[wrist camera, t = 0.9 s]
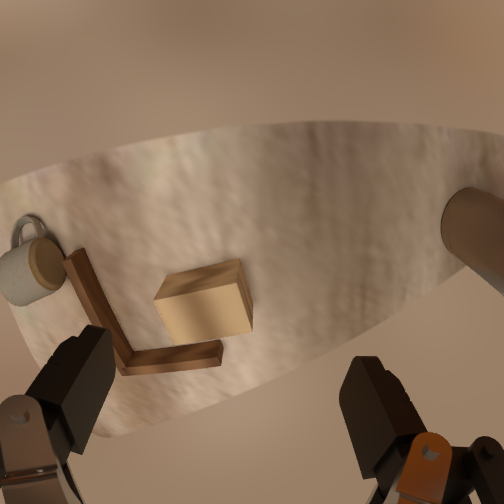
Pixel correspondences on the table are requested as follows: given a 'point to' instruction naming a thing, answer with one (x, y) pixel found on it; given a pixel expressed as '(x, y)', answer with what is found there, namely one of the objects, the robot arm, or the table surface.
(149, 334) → the table surface
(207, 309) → the oak block
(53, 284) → the ceramic mug
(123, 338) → the corner fence
